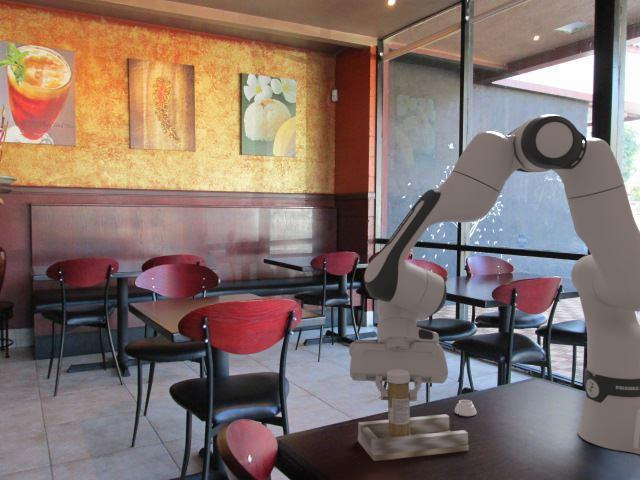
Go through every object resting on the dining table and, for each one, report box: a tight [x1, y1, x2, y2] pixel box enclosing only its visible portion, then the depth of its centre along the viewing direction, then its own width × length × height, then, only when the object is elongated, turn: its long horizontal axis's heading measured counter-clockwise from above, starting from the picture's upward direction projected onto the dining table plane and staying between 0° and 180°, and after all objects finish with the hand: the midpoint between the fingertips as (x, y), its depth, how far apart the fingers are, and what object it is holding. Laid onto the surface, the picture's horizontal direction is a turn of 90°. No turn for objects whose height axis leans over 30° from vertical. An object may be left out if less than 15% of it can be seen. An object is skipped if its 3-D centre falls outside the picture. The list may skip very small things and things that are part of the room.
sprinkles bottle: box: [387, 369, 411, 438], centre depth 113 cm, size 5×5×13 cm
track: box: [357, 413, 470, 462], centre depth 114 cm, size 20×10×4 cm, turn 104°
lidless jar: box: [454, 399, 478, 417], centre depth 134 cm, size 5×3×5 cm
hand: (398, 399), depth 113 cm, fingers closed on sprinkles bottle, 4 cm apart
